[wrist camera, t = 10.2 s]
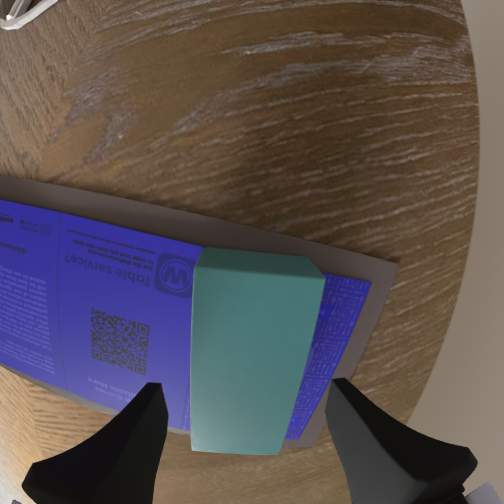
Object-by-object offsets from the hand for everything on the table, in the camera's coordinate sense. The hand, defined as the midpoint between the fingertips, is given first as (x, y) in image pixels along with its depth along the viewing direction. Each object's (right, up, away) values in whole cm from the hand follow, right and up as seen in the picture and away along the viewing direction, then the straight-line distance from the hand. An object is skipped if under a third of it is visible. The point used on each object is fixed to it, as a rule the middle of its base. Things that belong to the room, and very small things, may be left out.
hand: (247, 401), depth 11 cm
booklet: (-7, +2, +4) cm, 8 cm away
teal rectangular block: (0, +1, +4) cm, 4 cm away
